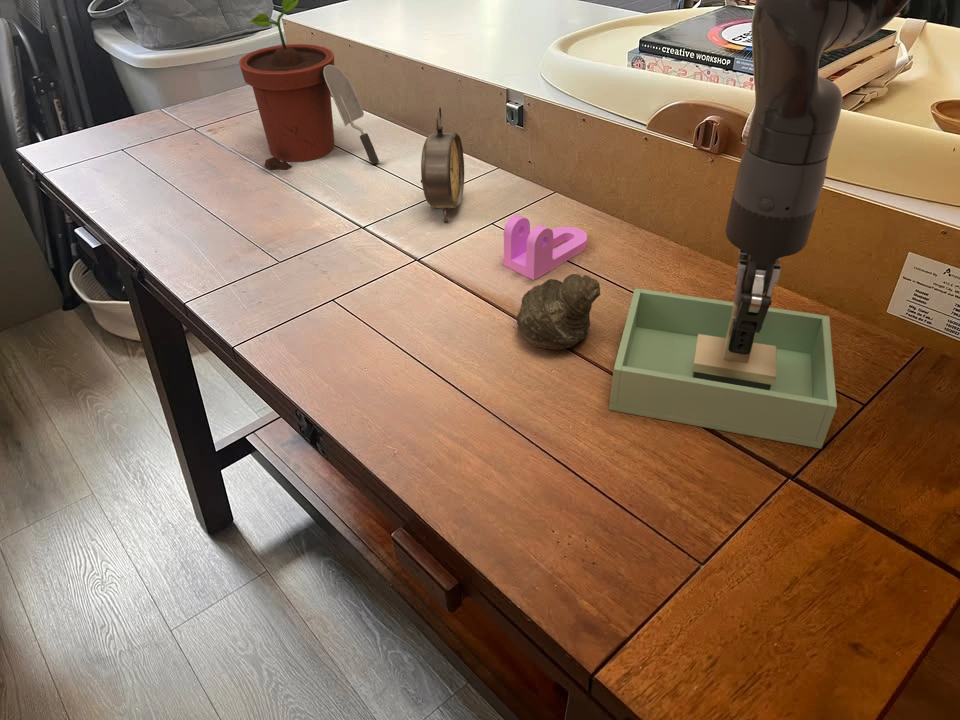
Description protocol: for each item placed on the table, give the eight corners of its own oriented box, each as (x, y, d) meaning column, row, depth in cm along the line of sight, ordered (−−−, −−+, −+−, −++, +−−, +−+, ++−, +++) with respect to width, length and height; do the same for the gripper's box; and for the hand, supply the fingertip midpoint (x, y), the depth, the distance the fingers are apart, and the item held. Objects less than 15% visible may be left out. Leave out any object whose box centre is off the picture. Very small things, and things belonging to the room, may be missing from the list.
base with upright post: (770, 368, 85) (791, 293, 79) (769, 399, 81) (792, 322, 75) (693, 355, 87) (708, 281, 81) (689, 385, 83) (704, 309, 77)
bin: (816, 356, 88) (829, 315, 85) (821, 449, 77) (837, 407, 73) (629, 327, 94) (634, 287, 90) (608, 410, 82) (613, 368, 78)
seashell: (570, 339, 82) (633, 302, 87) (509, 252, 84) (573, 221, 89) (531, 377, 92) (589, 342, 96) (477, 299, 94) (536, 269, 98)
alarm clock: (454, 227, 114) (449, 122, 104) (419, 225, 115) (411, 120, 104) (467, 194, 122) (463, 93, 112) (434, 192, 123) (427, 92, 113)
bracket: (533, 280, 102) (534, 234, 98) (503, 265, 105) (503, 220, 101) (594, 244, 109) (598, 200, 105) (564, 231, 112) (567, 187, 108)
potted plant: (337, 123, 147) (316, -18, 131) (380, 164, 132) (363, 10, 116) (246, 142, 140) (213, -4, 125) (281, 188, 125) (249, 29, 110)
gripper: (821, 237, 64) (775, 390, 75) (816, 167, 75) (776, 311, 86) (729, 225, 66) (697, 377, 77) (737, 159, 76) (708, 301, 87)
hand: (739, 341), depth 81 cm, fingers closed on base with upright post, 2 cm apart
